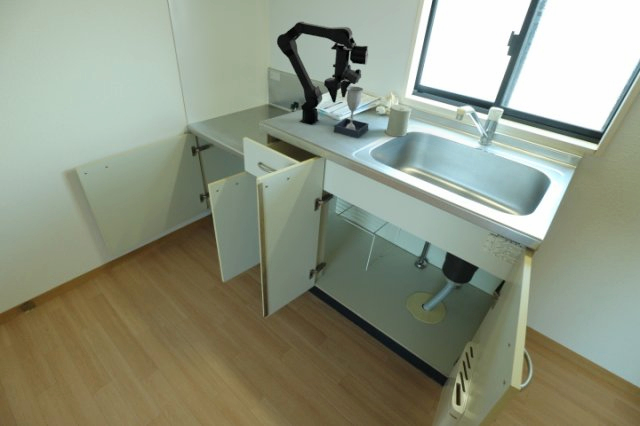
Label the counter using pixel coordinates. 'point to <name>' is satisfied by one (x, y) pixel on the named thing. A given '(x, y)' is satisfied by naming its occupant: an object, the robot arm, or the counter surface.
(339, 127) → the bin
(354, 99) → the chalice
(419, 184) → the counter surface
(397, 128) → the can
